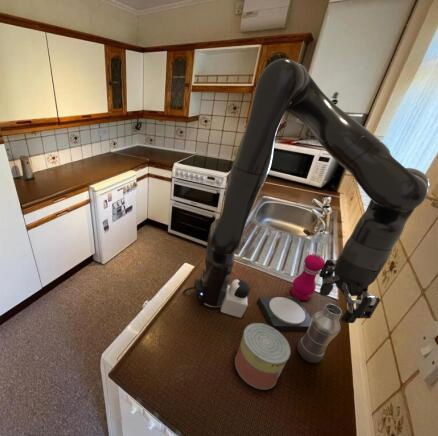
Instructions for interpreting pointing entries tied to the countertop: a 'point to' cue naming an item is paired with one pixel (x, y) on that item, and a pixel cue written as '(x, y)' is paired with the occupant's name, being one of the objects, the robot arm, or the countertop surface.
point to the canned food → (261, 355)
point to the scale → (285, 313)
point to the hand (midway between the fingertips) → (334, 307)
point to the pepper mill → (307, 277)
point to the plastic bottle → (320, 333)
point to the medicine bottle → (236, 298)
